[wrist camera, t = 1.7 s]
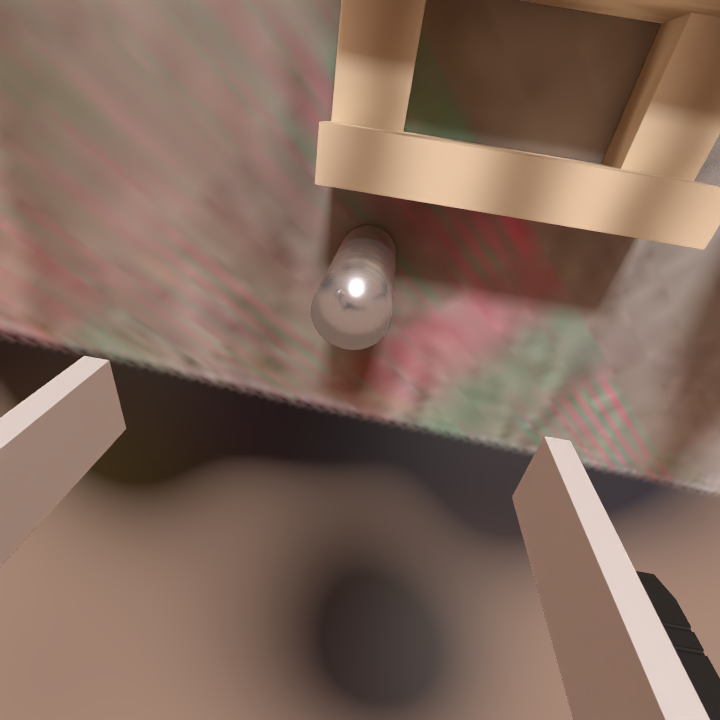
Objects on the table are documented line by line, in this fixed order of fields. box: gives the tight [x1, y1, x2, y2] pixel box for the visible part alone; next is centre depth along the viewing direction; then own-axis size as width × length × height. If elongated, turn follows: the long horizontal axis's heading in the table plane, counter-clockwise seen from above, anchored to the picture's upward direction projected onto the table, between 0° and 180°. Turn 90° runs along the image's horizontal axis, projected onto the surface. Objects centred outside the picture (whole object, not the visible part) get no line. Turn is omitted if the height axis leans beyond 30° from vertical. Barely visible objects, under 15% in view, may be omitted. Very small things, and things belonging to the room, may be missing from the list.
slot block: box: [315, 0, 720, 249], centre depth 19 cm, size 20×12×6 cm, turn 82°
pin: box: [311, 225, 396, 350], centre depth 24 cm, size 4×4×10 cm
